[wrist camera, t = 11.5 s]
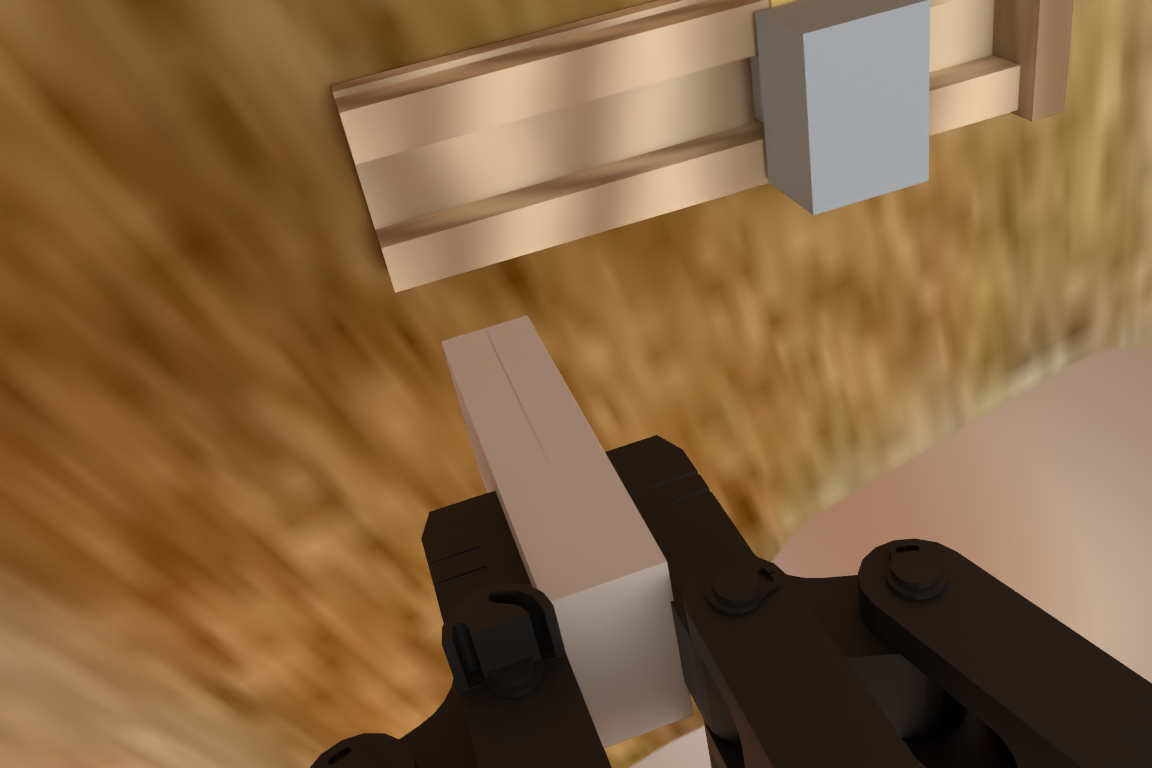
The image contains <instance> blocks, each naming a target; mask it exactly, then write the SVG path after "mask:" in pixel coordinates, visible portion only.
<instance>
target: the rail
mask: <svg viewBox="0 0 1152 768" xmlns="http://www.w3.org/2000/svg"><path fill="white" fill-rule="evenodd" d="M797 1H800V0H657V1H653V2H649V3H645V4H642V5H638V6H634V7H630V8H626V9H623V10H619V11H615V12H611V13H607V14H603V15H600V16H596V17H592V18H588V19H584V20H580V21H577V22H573V23H569V24H565V25H561V26H557V27H554V28H550V29H546V30H542V31H538V32H534V33H531V34H527V35H523V36H519V37H515V38H511V39H508V40H504V41H500V42H496V43H492V44H488V45H485V46H481V47H477V48H473V49H469V50H465V51H462V52H458V53H454V54H450V55H446V56H443V57H439V58H435V59H431V60H427V61H423V62H420V63H416V64H412V65H408V66H404V67H400V68H397V69H393V70H389V71H385V72H381V73H377V74H374V75H370V76H366V77H362V78H358V79H354V80H351V81H347V82H343V83H339V84H335V85H331V90H332V93H333V96H334V99H335V102H336V106H337V109H338V112H339V115H340V118H341V122H342V125H343V128H344V131H345V135H346V138H347V141H348V144H349V147H350V151H351V154H352V157H353V160H354V164H355V167H356V170H357V173H358V176H359V180H360V183H361V186H362V189H363V192H364V196H365V199H366V202H367V205H368V209H369V212H370V215H371V218H372V221H373V225H374V228H375V231H376V234H377V237H378V241H379V244H380V247H381V250H382V254H383V257H384V260H385V263H386V266H387V270H388V273H389V276H390V278H391V281H392V285H393V288H394V291H395V293H396V292H399V291H403V290H406V289H410V288H413V287H416V286H420V285H423V284H427V283H430V282H434V281H437V280H440V279H444V278H447V277H451V276H454V275H457V274H461V273H464V272H468V271H471V270H474V269H478V268H481V267H485V266H488V265H491V264H495V263H498V262H502V261H505V260H508V259H512V258H515V257H519V256H522V255H526V254H529V253H532V252H536V251H539V250H543V249H546V248H549V247H553V246H556V245H560V244H563V243H566V242H570V241H573V240H577V239H580V238H583V237H587V236H590V235H594V234H597V233H600V232H604V231H607V230H611V229H614V228H617V227H621V226H624V225H628V224H631V223H635V222H638V221H641V220H645V219H648V218H652V217H655V216H658V215H662V214H665V213H669V212H672V211H675V210H679V209H682V208H686V207H689V206H692V205H696V204H699V203H703V202H706V201H709V200H713V199H716V198H720V197H723V196H726V195H730V194H733V193H737V192H740V191H744V190H747V189H750V188H754V187H757V186H761V185H764V184H767V183H769V181H768V169H767V156H766V144H765V132H764V123H763V122H761V121H760V120H758V119H756V118H755V109H754V97H753V86H752V74H751V62H750V57H751V56H755V55H758V45H757V32H756V20H755V12H759V11H763V10H767V9H770V8H774V7H778V6H782V5H785V4H789V3H793V2H797ZM1073 1H1074V0H930V69H929V136H931V135H934V134H938V133H941V132H945V131H948V130H951V129H955V128H958V127H962V126H965V125H968V124H972V123H975V122H979V121H982V120H985V119H989V118H992V117H996V116H999V115H1002V114H1006V113H1009V112H1011V113H1013V114H1015V115H1018V116H1020V117H1022V118H1025V119H1027V120H1029V121H1032V122H1033V121H1036V120H1039V119H1043V118H1046V117H1049V116H1053V115H1056V114H1060V113H1063V112H1064V110H1065V98H1066V86H1067V74H1068V62H1069V50H1070V38H1071V25H1072V13H1073Z"/></svg>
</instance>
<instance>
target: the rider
mask: <svg viewBox="0 0 1152 768" xmlns="http://www.w3.org/2000/svg"><path fill="white" fill-rule="evenodd" d="M755 20H756V32H757V45H758V55H755V56H751V57H750V62H751V74H752V86H753V97H754V109H755V118H756V119H758V120H760V121H761V122H763V123H764V132H765V144H766V156H767V169H768V181H769V183H771V184H772V185H773V186H775V187H776V188H777V189H779V190H780V191H781V192H783V193H784V194H786V195H787V196H788V197H790V198H791V199H792V200H794V201H795V202H796V203H798V204H799V205H800V206H802V207H803V208H804V209H806V210H807V211H808V212H810V213H811V214H812V215H816V214H819V213H822V212H826V211H829V210H832V209H836V208H839V207H842V206H846V205H849V204H852V203H856V202H859V201H862V200H866V199H869V198H872V197H876V196H879V195H882V194H886V193H889V192H892V191H896V190H899V189H902V188H906V187H909V186H912V185H916V184H919V183H922V182H926V181H928V171H929V69H930V0H800V1H797V2H793V3H789V4H785V5H782V6H778V7H774V8H770V9H767V10H763V11H759V12H755Z"/></svg>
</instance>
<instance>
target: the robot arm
mask: <svg viewBox="0 0 1152 768" xmlns="http://www.w3.org/2000/svg"><path fill="white" fill-rule="evenodd" d="M441 342H442V346H443V349H444V353H445V356H446V360H447V363H448V367H449V370H450V374H451V377H452V380H453V384H454V387H455V391H456V394H457V398H458V401H459V405H460V408H461V411H462V415H463V418H464V422H465V425H466V429H467V432H468V436H469V439H470V443H471V446H472V449H473V453H474V456H475V460H476V463H477V467H478V470H479V473H480V475H481V478H482V481H483V483H484V486H485V489H486V492H487V493H486V494H483V495H480V496H477V497H474V498H471V499H468V500H465V501H462V502H459V503H456V504H453V505H450V506H446V507H443V508H440V509H437V510H434V511H431V512H429V516H428V519H427V522H426V525H425V529H424V532H423V535H422V538H421V539H422V543H423V546H424V550H425V554H426V558H427V562H428V565H429V569H430V573H431V577H432V581H433V584H434V587H435V592H436V596H437V600H438V603H439V607H440V611H441V615H442V618H443V622H444V625H443V627H442V646H443V649H444V652H445V655H446V657H447V660H448V663H449V666H450V669H451V671H452V674H453V677H454V679H453V683H452V687H451V689H450V691H449V693H448V695H447V697H446V699H445V701H444V702H443V703H442V704H441V706H440V707H439V708H438V709H437V711H436V712H435V713H434V714H433V715H432V716H431V717H429V718H428V719H427V720H426V721H425V722H423V723H422V724H421V725H420V726H418V727H417V728H415V729H414V730H412V731H411V732H409V733H408V734H407V735H405V736H404V737H402V738H401V739H396V738H394V737H392V736H389V735H387V734H381V733H363V734H360V735H357V736H354V737H351V738H348V739H345V740H342V741H340V742H339V743H337V744H336V745H334V746H333V747H331V748H330V749H328V750H327V751H325V752H324V753H322V754H321V755H320V756H319V757H318V759H317V760H316V761H315V762H314V763H313V765H312V766H311V767H310V768H611V765H610V763H609V760H608V758H607V755H606V753H605V750H604V748H606V747H609V746H612V745H614V744H617V743H620V742H622V741H625V740H628V739H630V738H633V737H636V736H638V735H641V734H644V733H646V732H649V731H652V730H654V729H657V728H660V727H662V726H665V725H668V724H671V723H673V722H676V721H679V720H681V719H684V718H687V717H689V716H692V715H693V709H692V703H691V697H690V693H691V695H692V697H693V699H694V701H695V703H696V705H697V707H698V709H699V711H700V713H701V715H702V717H703V719H704V725H705V731H706V737H707V742H708V749H709V755H710V761H711V767H712V768H1152V683H1150V682H1149V681H1147V680H1146V679H1144V678H1143V677H1141V676H1140V675H1138V674H1137V673H1135V672H1134V671H1132V670H1131V669H1129V668H1128V667H1126V666H1125V665H1124V664H1122V663H1120V662H1119V661H1118V660H1116V659H1115V658H1113V657H1112V656H1110V655H1109V654H1107V653H1106V652H1104V651H1103V650H1101V649H1100V648H1098V647H1097V646H1095V645H1094V644H1092V643H1091V642H1089V641H1088V640H1086V639H1085V638H1084V637H1082V636H1081V635H1079V634H1077V633H1076V632H1075V631H1073V630H1072V629H1070V628H1069V627H1067V626H1066V625H1064V624H1063V623H1061V622H1060V621H1058V620H1057V619H1055V618H1054V617H1052V616H1051V615H1049V614H1048V613H1046V612H1045V611H1044V610H1042V609H1041V608H1039V607H1038V606H1036V605H1035V604H1033V603H1032V602H1030V601H1029V600H1027V599H1026V598H1024V597H1023V596H1021V595H1020V594H1018V593H1017V592H1015V591H1014V590H1012V589H1011V588H1010V587H1008V586H1007V585H1005V584H1004V583H1002V582H1001V581H999V580H997V579H996V578H995V577H993V576H991V575H990V574H989V573H987V572H986V571H984V570H982V569H981V568H980V567H978V566H977V565H975V564H974V563H973V562H971V561H970V560H968V559H967V558H965V557H963V556H962V555H961V554H959V553H958V552H956V551H954V550H952V549H950V548H948V547H945V546H944V545H941V544H939V543H937V542H932V541H926V540H920V539H905V540H894V541H891V542H889V543H886V544H884V545H881V546H879V547H876V548H875V549H874V550H872V551H871V552H870V553H869V554H868V555H867V556H866V557H865V558H864V559H863V560H862V563H861V566H860V569H859V572H858V575H853V576H842V577H830V578H801V577H796V576H790V575H787V574H785V573H784V572H783V571H782V570H781V569H780V568H779V567H777V566H776V565H775V564H774V563H771V562H769V561H766V560H764V559H761V558H759V557H757V556H756V555H755V554H754V553H753V552H752V550H751V549H750V547H749V546H748V544H747V543H746V541H745V540H744V538H743V537H742V536H741V534H740V533H739V531H738V530H737V528H736V527H735V525H734V524H733V522H732V521H731V519H730V518H729V517H728V515H727V514H726V512H725V511H724V509H723V508H722V506H721V505H720V503H719V502H718V501H717V499H716V498H715V496H714V495H713V493H712V492H711V493H710V490H709V487H708V486H707V484H706V483H705V482H704V480H703V479H702V477H701V476H700V475H698V472H697V470H696V468H695V467H694V465H693V464H692V463H691V461H690V460H689V458H688V457H687V455H686V454H685V452H684V451H683V450H682V449H681V448H679V447H677V446H675V445H674V444H672V443H670V442H668V441H666V440H665V439H663V438H661V437H659V436H657V435H656V436H653V437H650V438H647V439H644V440H641V441H637V442H634V443H631V444H628V445H625V446H622V447H619V448H616V449H613V450H610V451H607V452H605V451H604V450H603V448H602V446H601V444H600V443H599V441H598V439H597V437H596V436H595V434H594V432H593V430H592V429H591V427H590V425H589V423H588V421H587V420H586V418H585V416H584V414H583V413H582V411H581V409H580V407H579V406H578V404H577V402H576V400H575V399H574V397H573V395H572V393H571V392H570V390H569V388H568V386H567V385H566V383H565V381H564V379H563V377H562V376H561V374H560V372H559V370H558V369H557V367H556V365H555V363H554V362H553V360H552V358H551V356H550V355H549V353H548V351H547V349H546V348H545V346H544V344H543V342H542V340H541V339H540V337H539V335H538V333H537V332H536V330H535V328H534V326H533V325H532V323H531V321H530V319H529V318H528V316H523V317H520V318H517V319H514V320H510V321H507V322H504V323H500V324H497V325H494V326H490V327H487V328H484V329H481V330H477V331H474V332H471V333H467V334H464V335H461V336H458V337H454V338H451V339H448V340H444V341H441Z"/></svg>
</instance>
